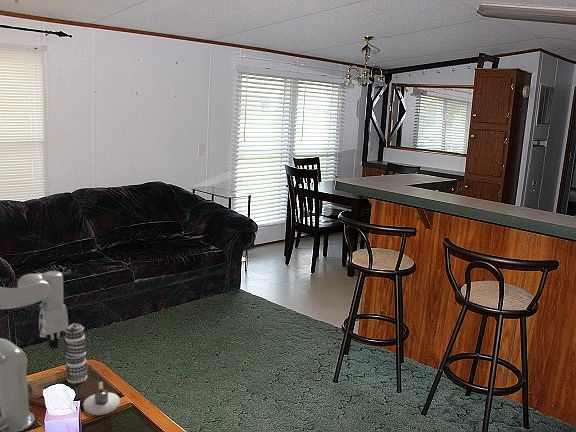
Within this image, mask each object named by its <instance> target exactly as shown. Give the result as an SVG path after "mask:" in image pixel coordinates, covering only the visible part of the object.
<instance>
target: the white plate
mask: <svg viewBox="0 0 576 432" xmlns="http://www.w3.org/2000/svg"><path fill="white" fill-rule="evenodd" d="M119 404H121V401H120V396H119V395H118V394H116V393H114V392H109V391H108V402H107V403H106V404H103V405H97V404H96V403H95V393H94V394H92V395H90V396H88V397H87V398H86V399H85V400H84V401H83V411H84V412H85V413H86V414H88V415H91V416H103V415H108V414H110V413H112V412H115V411H116V410H117V409H118V408H119V407H120V405H119ZM118 406H119V407H118ZM117 407H118V408H117Z"/></svg>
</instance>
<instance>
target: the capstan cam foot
mask: <svg viewBox="0 0 576 432" xmlns="http://www.w3.org/2000/svg"><path fill="white" fill-rule="evenodd" d="M108 392H109V391H108V390H107V389H104V381H98V389H97V390H96V391H95V393H94V394H95V403H96V404H97V405H103V404H106V403H107V402H108Z"/></svg>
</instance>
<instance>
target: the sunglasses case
mask: <svg viewBox="0 0 576 432" xmlns="http://www.w3.org/2000/svg"><path fill="white" fill-rule="evenodd" d="M27 388H28V400H29V402H32V403H37V404H41V405H43V406H45V404H44V398H43V393H42V392H43V389H46V388H45V387H40V386H36V385H31V384H30V383H29V384H28V383H27ZM32 403H31V404H32ZM43 406H42V407H43Z"/></svg>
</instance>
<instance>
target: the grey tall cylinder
mask: <svg viewBox="0 0 576 432" xmlns="http://www.w3.org/2000/svg"><path fill="white" fill-rule="evenodd" d="M84 329H85V326H83V325H82V324H81V323H75V322H74V323H71V324H68V328H67V329H66V330H64V331H63V332H64V335H65V336H64V339H63V345H64V355H65V357H66V364H65V365H66V366H65V367H66V370H65V371H66V380H67V382H68V383H70V384H79V383H83V382H85V381H86V380H87V379H88V369H87V367H88V366H87V364H88V362H87V359H86V354H87V345H86V344H87V338H86V336H85V330H84Z"/></svg>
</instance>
